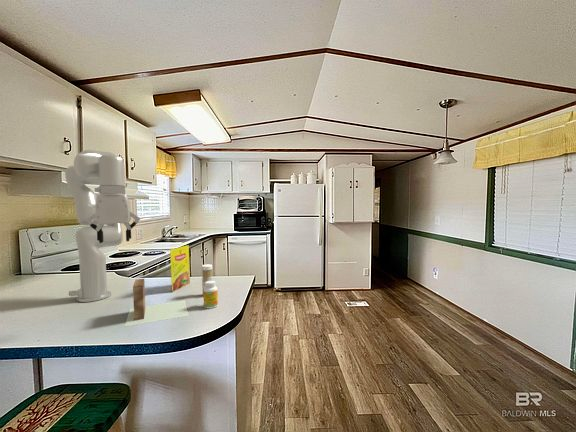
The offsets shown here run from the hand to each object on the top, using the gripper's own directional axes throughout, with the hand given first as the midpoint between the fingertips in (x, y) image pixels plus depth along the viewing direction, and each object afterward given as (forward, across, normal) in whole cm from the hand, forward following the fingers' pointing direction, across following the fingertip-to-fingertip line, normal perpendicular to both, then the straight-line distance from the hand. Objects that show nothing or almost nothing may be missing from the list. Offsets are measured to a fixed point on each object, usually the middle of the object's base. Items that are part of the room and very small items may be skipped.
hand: (114, 241), depth 97 cm
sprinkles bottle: (+28, +33, +13) cm, 45 cm away
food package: (+28, +23, +31) cm, 48 cm away
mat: (+28, +13, 0) cm, 31 cm away
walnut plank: (+27, +7, 0) cm, 28 cm away
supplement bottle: (+28, +32, -2) cm, 43 cm away
